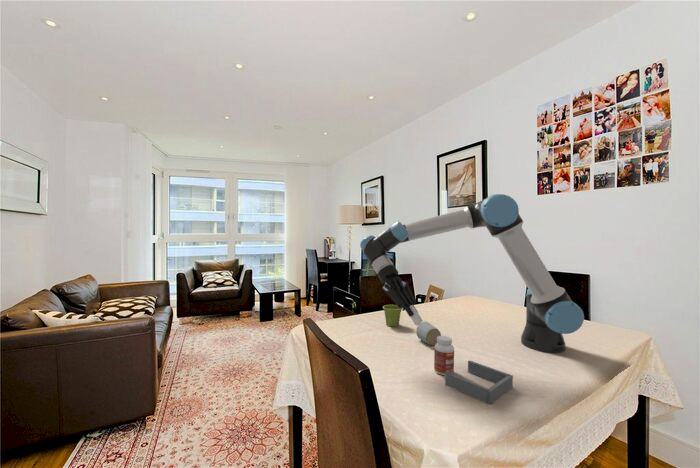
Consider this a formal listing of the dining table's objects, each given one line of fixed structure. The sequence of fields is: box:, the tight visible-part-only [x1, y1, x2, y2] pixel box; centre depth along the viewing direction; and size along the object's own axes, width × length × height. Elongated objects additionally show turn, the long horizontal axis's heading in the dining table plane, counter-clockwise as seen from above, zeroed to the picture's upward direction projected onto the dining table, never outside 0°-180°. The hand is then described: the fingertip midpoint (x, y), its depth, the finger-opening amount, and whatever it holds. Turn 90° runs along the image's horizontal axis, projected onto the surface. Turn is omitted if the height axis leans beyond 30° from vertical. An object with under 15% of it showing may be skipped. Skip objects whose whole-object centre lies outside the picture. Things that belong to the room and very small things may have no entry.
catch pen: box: [444, 360, 514, 405], centre depth 91 cm, size 14×14×4 cm
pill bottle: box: [433, 335, 455, 376], centre depth 100 cm, size 6×6×11 cm
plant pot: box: [382, 304, 403, 327], centre depth 149 cm, size 9×9×9 cm
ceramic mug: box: [415, 321, 442, 346], centre depth 126 cm, size 11×8×8 cm
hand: (419, 323), depth 107 cm, fingers closed
